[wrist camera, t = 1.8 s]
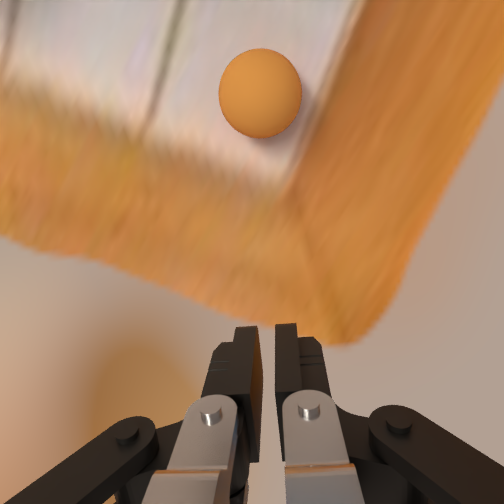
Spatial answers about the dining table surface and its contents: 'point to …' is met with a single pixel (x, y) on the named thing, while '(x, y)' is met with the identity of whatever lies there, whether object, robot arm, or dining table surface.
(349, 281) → the dining table surface
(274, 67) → the ball
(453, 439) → the robot arm
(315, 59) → the dining table surface
